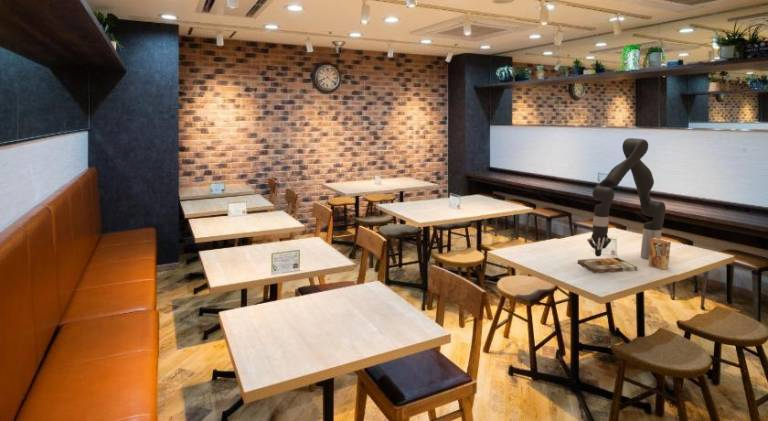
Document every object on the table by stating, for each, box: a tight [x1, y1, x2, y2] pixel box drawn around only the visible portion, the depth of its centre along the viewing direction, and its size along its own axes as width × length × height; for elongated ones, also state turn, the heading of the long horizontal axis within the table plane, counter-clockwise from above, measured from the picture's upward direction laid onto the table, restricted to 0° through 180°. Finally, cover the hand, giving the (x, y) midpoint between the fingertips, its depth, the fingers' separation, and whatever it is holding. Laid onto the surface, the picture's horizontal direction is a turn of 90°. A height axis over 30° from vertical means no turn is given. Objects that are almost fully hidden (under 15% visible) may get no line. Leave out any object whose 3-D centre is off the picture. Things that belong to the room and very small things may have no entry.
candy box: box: [647, 238, 672, 270], centre depth 260 cm, size 9×4×15 cm, turn 34°
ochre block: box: [601, 257, 619, 265], centre depth 259 cm, size 6×6×3 cm
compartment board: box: [577, 257, 638, 274], centre depth 263 cm, size 24×17×4 cm
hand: (597, 256), depth 257 cm, fingers closed
